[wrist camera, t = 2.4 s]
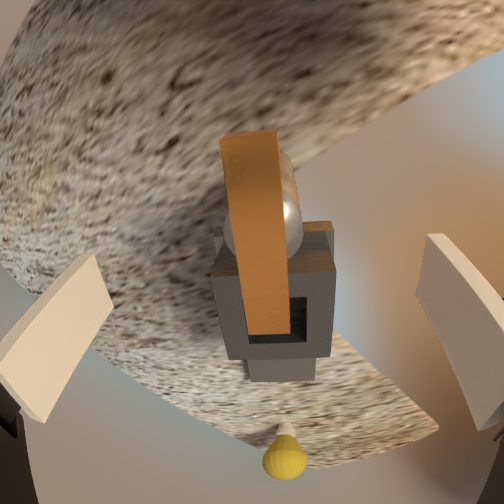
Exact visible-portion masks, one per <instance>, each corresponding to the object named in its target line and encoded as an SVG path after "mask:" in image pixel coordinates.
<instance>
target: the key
mask: <svg viewBox="0 0 504 504" xmlns="http://www.w3.org/2000/svg"><path fill="white" fill-rule="evenodd" d="M220 147H221V155H222V162H223V169H224V176H225V183H226V190H227V197H228V204H229V211H228V213H227V216H226V218H225V221H224V228H223V231H224V238H225V241H226V244H227V246H228V247H229V249H230V250H231V252H232V253H233V254H234V255H235V256H236V258H237V264H238V271H239V277H240V284H241V290H242V297H243V303H244V309H245V316H246V322H247V328H248V334H249V335H260V334H290V302H289V281H288V263H287V260H288V259H290V258H291V257H292V256H293V255H294V254H295V253H296V252H297V250H298V249H299V247H300V245H301V242H302V239H303V223H302V217H301V211H300V205H299V198H298V193H297V187H296V181H295V176H294V170H293V165H292V162H291V160H290V158H289V157H288V156H287V155H286V154H285V153H284V152H282V151H280V150H279V141H278V131H277V130H266V131H255V132H244V133H235V134H228V135H226V136H225V137H223V138H222V139H221V140H220Z"/></svg>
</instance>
